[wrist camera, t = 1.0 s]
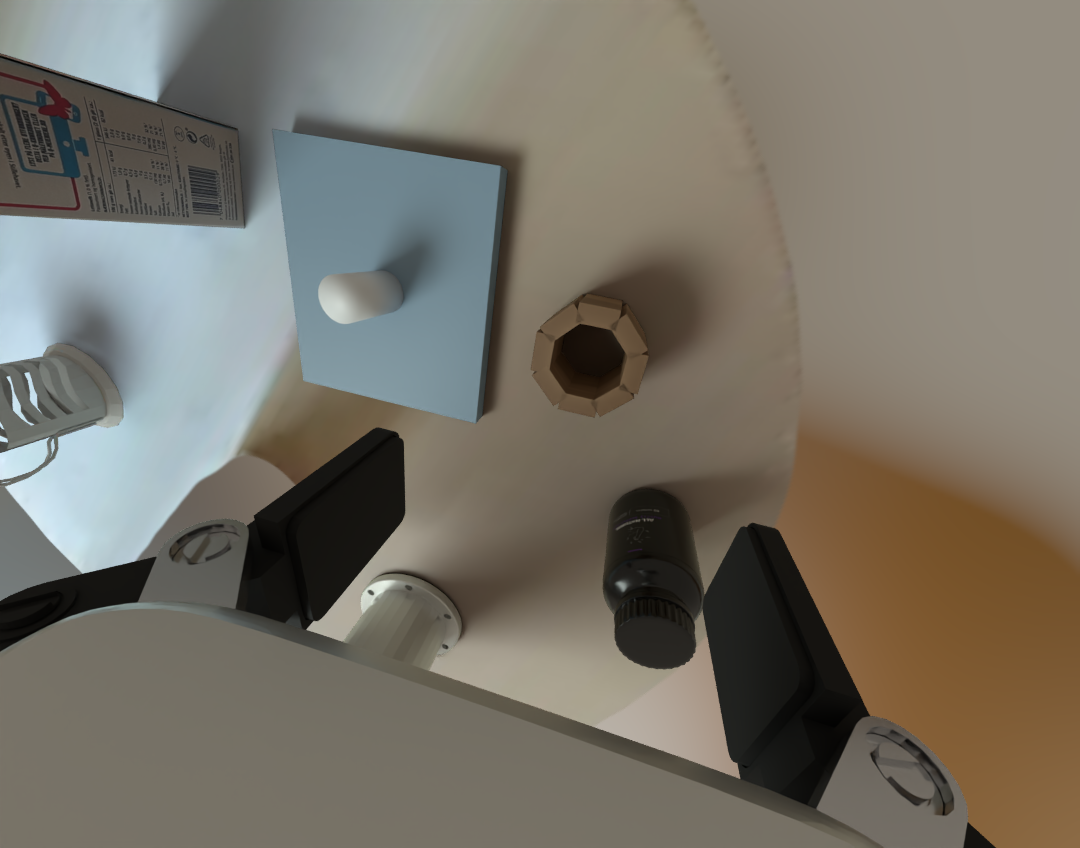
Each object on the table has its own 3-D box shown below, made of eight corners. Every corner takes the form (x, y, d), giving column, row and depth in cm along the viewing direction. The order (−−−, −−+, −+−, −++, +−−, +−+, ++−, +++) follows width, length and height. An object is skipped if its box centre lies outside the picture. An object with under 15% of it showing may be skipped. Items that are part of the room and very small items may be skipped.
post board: (482, 416, 33) (450, 452, 27) (315, 375, 35) (253, 400, 29) (507, 170, 25) (470, 146, 19) (290, 135, 27) (196, 103, 21)
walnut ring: (628, 398, 29) (628, 425, 25) (540, 379, 30) (525, 401, 26) (654, 306, 26) (660, 318, 22) (556, 287, 27) (542, 294, 23)
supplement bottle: (635, 472, 32) (638, 584, 21) (705, 511, 32) (744, 641, 21) (594, 525, 35) (579, 646, 24) (658, 560, 35) (672, 696, 24)
